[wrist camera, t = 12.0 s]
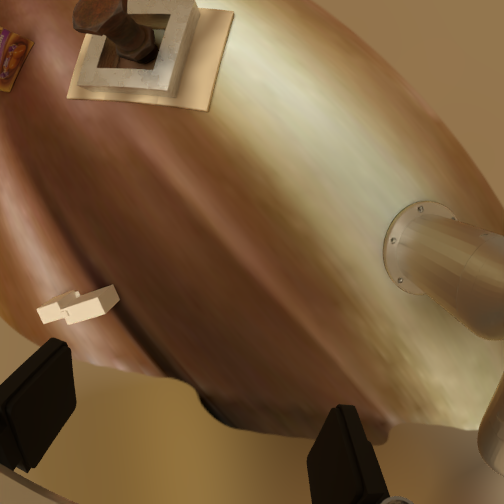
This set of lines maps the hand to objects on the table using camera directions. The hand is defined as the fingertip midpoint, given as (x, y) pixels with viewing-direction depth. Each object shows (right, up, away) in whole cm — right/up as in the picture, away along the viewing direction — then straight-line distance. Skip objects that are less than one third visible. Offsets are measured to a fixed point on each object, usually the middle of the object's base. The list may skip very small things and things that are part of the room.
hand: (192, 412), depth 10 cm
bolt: (-11, +31, +24) cm, 41 cm away
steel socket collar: (-12, +31, +24) cm, 41 cm away
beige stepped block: (-23, -1, +33) cm, 40 cm away
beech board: (-12, +31, +24) cm, 41 cm away
